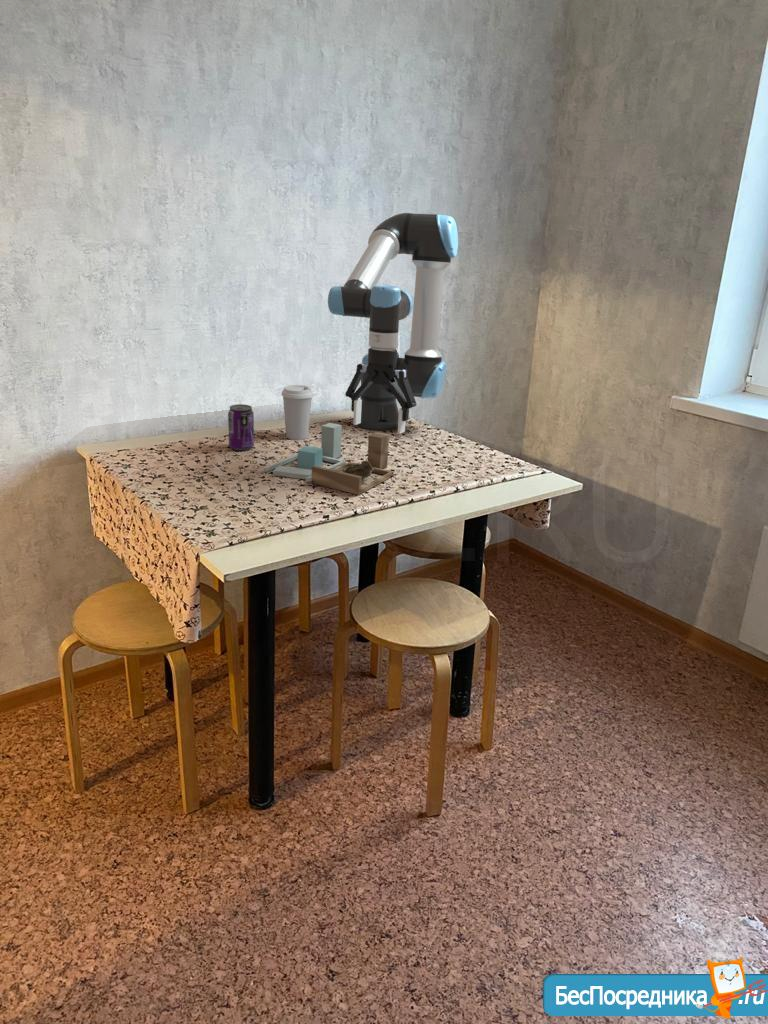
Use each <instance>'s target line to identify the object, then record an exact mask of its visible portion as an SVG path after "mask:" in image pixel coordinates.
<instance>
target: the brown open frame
mask: <svg viewBox="0 0 768 1024" xmlns="http://www.w3.org/2000/svg"><path fill="white" fill-rule="evenodd" d="M389 438H390V435H389V434H388V433H382V432H377V431H376V432H373V433H371V434H369V435H368V439H367V440H368V442H367V443H368V444H367V460H368V462H369V463H370V464H371V466H372V468H373V469H374V470H372V471H371V473H375V474H380V475H382V476H380V477H378V478H375V479H374V480H372V481H371V482H369V483H366V484H365V485H362V482H363V480H362V476H357V475H353V474H349V473H345V472H340V471H343V470H344V469H346V468H348V467H351V466H353V465H356V464H358V462H352V461H346V463H345V464H343V465H341V466H339V467H337V468H334V469H328V467H324V466H321V467H319V466H315V465H314V466H312V481H311V484H315V485H318V486H321V487H325V488H331V489H335V490H339V491H342V492H347V493H351V494H354V495H358V496H359V495H361V494H362V493H364V492H366V491H368V490H370V489H372V488H373V487H376V486H377V485H379V484H380V483H382V482H384V481H386V480H388V479H390V478H391V476H392V477H394V476H395V475H394V474H395V471H392V470H388V469H385V468H387V467H388V460H389V459H388V458H389V457H388V456H389V444H390V443H389V442H390V439H389Z"/></svg>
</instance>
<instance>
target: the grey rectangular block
mask: <svg viewBox="0 0 768 1024" xmlns="http://www.w3.org/2000/svg"><path fill="white" fill-rule="evenodd" d="M272 475H273V476H279V477H285V478H294V479H299V480H300V479H301V480H306V478H307V477H309V476H311V475H312V470H309V469H302V468H298V467H293V466H292V467H291V466H286V465H285V466H284V465H282V466H278V467H277V468H275V469H272Z"/></svg>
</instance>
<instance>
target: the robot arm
mask: <svg viewBox="0 0 768 1024" xmlns="http://www.w3.org/2000/svg"><path fill="white" fill-rule="evenodd" d="M367 244H368V245H367V247H366V249H365V250H364V252H363V254H362V255H361V257H360V259H359V260H358V262H357V264H356V265H355V267H354V269H353V271H352V272H351V273H350V275H349V277H348V278H347V280H346V282H345V283H344V285H343V286H341V285H338V286H332V287H331V288H330V289H329V291H328V296H327V307H328V311H329V312H330V313H331V314H332V315H336V316H337V315H338V316H343V317H354V318H367V319H369V327H368V329H369V330H368V346H369V348H368V350H367V354H365V355H363V357H362V359H361V363H357V366H356V370H355V371H356V372H355V374H354V375H353V378H352V380H351V381H350V384H349V386H348V387H347V389H346V391H345V397H347V398H349V399H350V400H351V412H353V421H352V422H353V425H354V426H357V427H358V428H363V429H367V430H375V431H376V430H377V431H386V430H387V431H388V430H393V429H397V434H399V435H401V434H402V433H405V431H406V423H407V421H408V420H409V418H410V417H409V416H410V409H412V408H415V407H416V406H417V404H418V403H417V401H416V398H421V399H436V398H437V397H439V395H440V394H441V391H442V389H443V386H444V383H445V380H446V379H445V378H446V375H447V363H446V362H445V361H442V359H443V356H442V354H441V352H440V351H439V335H440V328H441V326H440V325H441V316H442V304H443V294H444V293H443V292H444V285H445V283H444V280H445V272H446V268H448V267H449V266H450V265H451V261H452V259H454V258H456V257H457V255H458V249H459V235H458V226H457V223H456V220H455V219H454V218H453V216H450V215H444V214H439V213H438V214H437V213H436V214H434V213H432V214H431V213H410V212H402V213H398V214H395V215H393V216H391V217H388V218H387V219H385V220H383V221H382V222H381V223H379V224H378V225H377V226H376V227H375V228H374V229H373V230H372V232H371V233H370V235H369V237H368V242H367ZM401 254H402V255H411V256H412V257H411V258H412V259H411V262H412V263H413V265H414V266H415V267H416V268H415V269H416V270H415V280H414V281H415V282H414V283H415V284H414V294H413V298H412V297H411V295H410V293H409V292H407V291H405V290H401V288H400V287H399V286H397V285H387V284H378V282H379V281H380V280H381V277H382V275H383V274H384V272H385V270H386V268H387V266H388V265H389V263H390V261H391V260H394V259H395V258H396V257H397V256H398V255H401ZM411 313H412V319H411V321H412V322H411V331H410V333H411V334H410V345H409V348H408V349H407V350H406V351H405V352H404V356H403V357H400V354H399V352H398V350H397V348H398V346H399V328H400V327H399V324H400V321H401V320H404V319H406V318H407V317H408V316H409V315H410V314H411ZM359 384H360V386H359ZM358 386H359V387H358ZM397 402H398V404H399V405H400V407H401V408H398V404H397Z"/></svg>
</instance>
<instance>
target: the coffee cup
mask: <svg viewBox="0 0 768 1024" xmlns="http://www.w3.org/2000/svg"><path fill="white" fill-rule="evenodd" d="M314 396H315V395H314V392H313V390H312V388H311V386H307V385H301V384H292V385H291V384H290V385H286V386H284V387H283V390H282V391H281V397H282V398H283V399H282V402H283V411H284V425H285V433H286V435H285V436H286V438H287V439H290V440H295V441H296V440H297V441H298V440H299V441H300V440H302V441H303V440H306V439H308V438H309V429H310V421H311V408H312V401H313V397H314Z"/></svg>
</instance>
